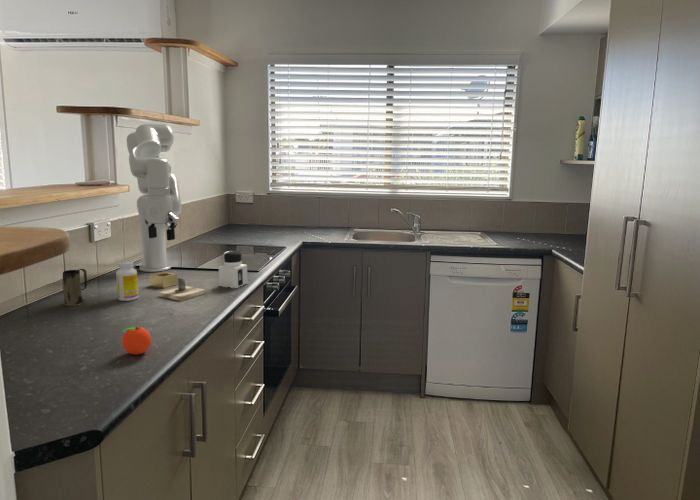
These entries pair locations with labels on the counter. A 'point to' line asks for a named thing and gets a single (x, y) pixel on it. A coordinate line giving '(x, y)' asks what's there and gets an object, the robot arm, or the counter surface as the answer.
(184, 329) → the counter surface
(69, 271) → the mug
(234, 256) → the container
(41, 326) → the counter surface
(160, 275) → the collar
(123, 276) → the supplement bottle
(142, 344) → the clementine
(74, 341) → the counter surface
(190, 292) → the post stand
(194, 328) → the counter surface
